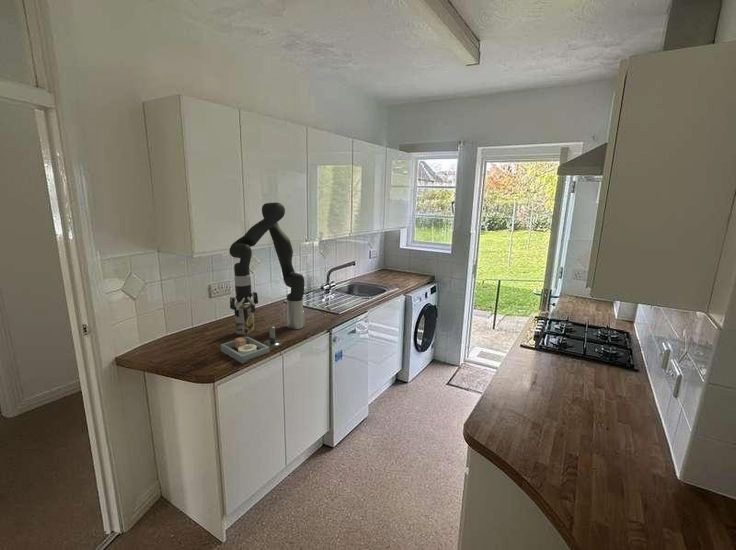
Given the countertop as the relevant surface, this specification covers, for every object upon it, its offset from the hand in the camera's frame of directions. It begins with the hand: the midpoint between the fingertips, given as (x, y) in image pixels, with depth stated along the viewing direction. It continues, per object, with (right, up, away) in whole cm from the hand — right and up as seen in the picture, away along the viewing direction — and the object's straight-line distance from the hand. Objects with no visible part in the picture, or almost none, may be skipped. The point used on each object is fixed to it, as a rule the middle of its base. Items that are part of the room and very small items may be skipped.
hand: (245, 314), depth 182 cm
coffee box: (-8, -13, +23) cm, 28 cm away
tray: (+1, -19, -2) cm, 19 cm away
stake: (+12, -17, +8) cm, 22 cm away
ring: (+1, -18, -3) cm, 18 cm away
